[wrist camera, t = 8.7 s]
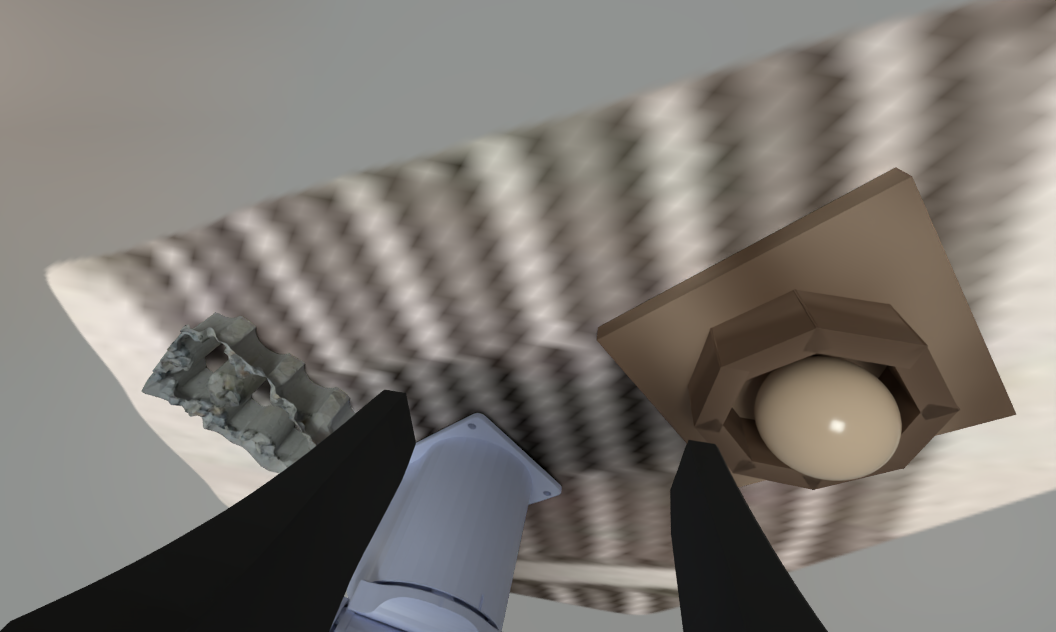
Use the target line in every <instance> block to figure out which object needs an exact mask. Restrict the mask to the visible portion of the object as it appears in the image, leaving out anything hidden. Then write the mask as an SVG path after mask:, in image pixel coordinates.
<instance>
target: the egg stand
mask: <svg viewBox="0 0 1056 632" xmlns="http://www.w3.org/2000/svg"><path fill="white" fill-rule="evenodd" d="M597 341H598V342H599V343H600V344H601V346H602V347H603V348H604V349H605V350H606V351H607V352H608V354H609V355H610V356H611V357H612V358H613V359H614V360H615V362H616V363H617V364H618V365H619V366H620V367H621V369H622V370H623V371H624V372H625V373H626V374H627V375H628V377H629V378H630V379H631V380H632V381H633V382H634V383H635V385H636V386H637V387H638V388H639V389H640V390H641V391H642V393H643V394H644V395H645V396H646V397H647V398H648V399H649V401H650V402H651V403H652V404H653V405H654V406H655V408H656V409H657V410H658V411H659V412H660V413H661V414H662V416H663V417H664V418H665V419H666V420H667V421H668V422H669V424H670V425H671V426H672V427H673V428H674V429H675V430H676V432H677V433H678V434H679V435H680V436H681V437H682V438H683V440H684V441H685V442H686V443H687V442H688V440H694V441H700V442H706V443H712V444H716V446H717V447H718V448H719V450H720V452H721V454H722V456H723V458H724V460H725V462H726V464H727V466H728V468H729V470H730V472H731V474H732V476H733V478H734V480H735V482H736V484H737V486H738V487H741V486H745V485H749V484H753V483H757V482H760V481H764V480H769V481H774V482H778V483H783V484H788V485H793V486H798V487H803V488H807V489H812V490H815V489H819V488H823V487H827V486H831V485H835V484H840V483H844V482H848V481H852V480H856V479H852V480H844V481H830V480H823V479H818V478H814V477H811V476H808V475H805V474H802V473H800V472H798V471H796V470H794V469H792V468H791V467H789V466H788V465H786V464H785V463H783V462H782V461H781V460H779V459H778V458H777V457H776V456H775V455H774V454H773V453H772V452H771V451H770V450H769V448H768V447H767V446H766V444H765V443H764V441H763V439H762V438H761V436H760V434H759V431H758V429H757V426H756V422H755V416H754V405H755V399H756V395H757V393H758V390H759V388H760V386H761V384H762V383H763V381H764V380H765V379H766V378H767V376H768V375H769V374H770V373H771V372H773V371H774V370H775V369H777V368H780V367H782V366H785V365H787V364H790V363H793V362H795V361H798V360H800V359H803V358H806V357H811V356H826V357H834V358H839V359H843V360H846V361H849V362H852V363H854V364H856V365H858V366H860V367H862V368H864V369H866V370H867V371H869V372H870V373H872V374H873V375H874V376H876V377H877V378H878V379H879V380H880V381H881V382H882V383H883V384H884V385H885V386H886V387H887V389H888V390H889V391H890V393H891V394H892V396H893V397H894V399H895V401H896V403H897V406H898V408H899V411H900V415H901V422H902V431H901V438H900V441H899V444H898V447H897V449H896V451H895V452H894V454H893V456H892V457H891V458H890V460H889V461H888V462H887V463H885V464H884V465H883V466H882V467H881V468H879V469H878V470H876V471H875V472H873V473H871V474H869V475H866V476H864V477H861V478H865V477H869V476H873V475H877V474H882V473H886V472H890V471H894V470H898V469H904V468H905V467H906V466H907V465H908V463H909V462H910V461H911V460H912V459H913V458H914V457H915V456H916V455H917V454H918V453H919V452H920V451H921V450H922V449H923V448H924V447H925V446H926V445H927V444H928V442H929V441H930V440H931V439H932V438H933V437H934V436H936V435H940V434H944V433H948V432H952V431H955V430H959V429H963V428H967V427H971V426H974V425H978V424H982V423H986V422H990V421H994V420H997V419H1001V418H1005V417H1009V416H1013V415H1016V412H1015V410H1014V408H1013V405H1012V403H1011V401H1010V399H1009V396H1008V394H1007V392H1006V390H1005V387H1004V385H1003V383H1002V380H1001V378H1000V376H999V374H998V371H997V369H996V367H995V364H994V362H993V360H992V358H991V355H990V353H989V351H988V348H987V346H986V344H985V342H984V339H983V337H982V335H981V333H980V330H979V328H978V326H977V323H976V321H975V319H974V317H973V314H972V312H971V310H970V307H969V305H968V303H967V301H966V298H965V296H964V294H963V292H962V289H961V287H960V285H959V282H958V280H957V278H956V276H955V273H954V271H953V269H952V266H951V264H950V262H949V260H948V257H947V255H946V253H945V250H944V248H943V246H942V244H941V241H940V239H939V237H938V235H937V232H936V230H935V228H934V225H933V223H932V221H931V219H930V216H929V214H928V212H927V209H926V207H925V205H924V203H923V200H922V198H921V196H920V194H919V191H918V189H917V187H916V184H915V182H914V180H913V178H912V176H910V175H909V174H907V173H905V172H903V171H902V170H900V169H898V168H894V169H892V170H890V171H888V172H887V173H885V174H883V175H881V176H879V177H877V178H875V179H874V180H872V181H870V182H868V183H866V184H864V185H862V186H861V187H859V188H857V189H855V190H853V191H851V192H849V193H847V194H846V195H844V196H842V197H840V198H838V199H836V200H834V201H833V202H831V203H829V204H827V205H825V206H823V207H821V208H820V209H818V210H816V211H814V212H812V213H810V214H808V215H807V216H805V217H803V218H801V219H799V220H797V221H795V222H793V223H792V224H790V225H788V226H786V227H784V228H782V229H780V230H779V231H777V232H775V233H773V234H771V235H769V236H767V237H766V238H764V239H762V240H760V241H758V242H756V243H754V244H752V245H751V246H749V247H747V248H745V249H743V250H741V251H739V252H738V253H736V254H734V255H732V256H730V257H728V258H726V259H725V260H723V261H721V262H719V263H717V264H715V265H713V266H712V267H710V268H708V269H706V270H704V271H702V272H700V273H698V274H697V275H695V276H693V277H691V278H689V279H687V280H685V281H684V282H682V283H680V284H678V285H676V286H674V287H672V288H671V289H669V290H667V291H665V292H663V293H661V294H659V295H657V296H656V297H654V298H652V299H650V300H648V301H646V302H644V303H643V304H641V305H639V306H637V307H635V308H633V309H631V310H630V311H628V312H626V313H624V314H622V315H620V316H618V317H616V318H615V319H613V320H611V321H609V322H607V323H605V324H603V325H602V326H600V327H598V334H597ZM861 478H857V479H861Z"/></svg>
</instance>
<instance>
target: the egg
mask: <svg viewBox="0 0 1056 632" xmlns="http://www.w3.org/2000/svg"><path fill="white" fill-rule="evenodd" d="M754 416H755V422H756V426H757V429H758V431H759V434H760V436H761V438H762V439H763V441H764V443H765V444H766V446H767V447H768V448H769V450H770V451H771V452H772V453H773V454H774V455H775V456H776V457H777V458H778V459H779V460H781V461H782V462H783V463H785V464H786V465H788V466H789V467H791V468H792V469H794V470H796V471H798V472H800V473H802V474H805V475H808V476H811V477H814V478H818V479H823V480H830V481H844V480H852V479H857V478H861V477H864V476H866V475H869V474H871V473H873V472H875V471H876V470H878V469H879V468H881V467H882V466H883V465H884V464H885V463H887V462H888V461H889V460H890V458H891V457H892V456H893V454H894V452H895V451H896V449H897V447H898V444H899V441H900V438H901V431H902V422H901V415H900V411H899V408H898V406H897V403H896V401H895V399H894V397H893V396H892V394H891V393H890V391H889V390H888V389H887V387H886V386H885V385H884V384H883V383H882V382H881V381H880V380H879V379H878V378H877V377H876V376H874V375H873V374H872V373H870V372H869V371H867V370H866V369H864V368H862V367H860V366H858V365H856V364H854V363H852V362H849V361H846V360H843V359H839V358H834V357H826V356H811V357H806V358H803V359H800V360H798V361H795V362H793V363H790V364H787V365H785V366H782V367H780V368H777V369H775V370H774V371H773V372H771V373H770V374H769V375H768V376H767V378H766V379H765V380H764V381H763V383H762V384H761V386H760V388H759V390H758V393H757V395H756V399H755V405H754Z"/></svg>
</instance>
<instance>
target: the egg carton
mask: <svg viewBox="0 0 1056 632" xmlns="http://www.w3.org/2000/svg"><path fill="white" fill-rule="evenodd" d="M180 332H181V334H180V335H179V336H178V338H177V339H176V340H175V341H174V342H173V343H172V344H171V345H170V347H169V348H168V349H167V350H168V351H167V352H166V354H165V355H164V356H163V357H162V359H161V360H160V362H159V363H158V365H157V366H156V367H155V369H154V370H153V374H152V375H151V376H150V377H149V379H148V380H147V382H146V384H145V385H144V387H143V389H142V392H143V393H145V394H148V395H152V396H155V397H159V398H162V399H164V400H167V401H169V403H170V404H171V405H178V406H182V407H183V408H184V409H185V412H187V413H189V416H191V417H192V416H197V415H198V416H200V417H202V419H203V427H204V429H207V430H211V431H215V432H218V433H219V434H221V435H223V436H224V437H225V438H227V439H228V440H229V441H230V442H232V443H234V444H237V445H239V446H242V447H243V448H244V449H245V450H247V451H248V452H249V453H250V454H251V456H252V457H253V458H254V459H255V460H256V461H257V462H258V463H259V465H260V466H261V467H263V468H265V469H267V470H269V471H272V472H277V473H281V472H282V471H284V470H285V469H286V468H288V467H289V466H290V465H292V464H293V463H294V462H296V461H297V460H298V459H300V458H301V457H302V456H304V455H305V454H306V453H308V452H309V451H310V450H312V449H313V448H314V447H315V446H317V445H318V444H319V443H320V442H321V441H323V440H324V439H325V438H326V437H328V436H329V435H330V434H331V433H333V432H334V431H335V430H336V429H338V428H339V427H340V426H341V425H342V424H344V423H345V422H346V421H347V420H348V419H350V418H351V417H352V416H353V415H354V414H356V413H355V412H354V411H353V410H352V409H351V407H350V405H349V399H350V397H349V396H348V395H347V394H346V393H345V392H343V391H342V390H340V389H339V388H337V387H335V388H324V387H321V386H319V385H317V384H315V383H314V382H312V381H311V380H310V379H309V378H308V376H307V375H306V373H305V370H304V365H305V363H304V362H303V361H301V360H300V359H298V358H296V357H294V356H293V355H291V354H290V353H288V354H277V353H274V352H272V351H270V350H268V349H267V348H265V347H264V346H263V345H262V344H261V343H260V342H259V340H258V338H257V336H256V327H255V326H254V325H253V324H252V323H251V322H249V321H248V320H247V319H245V318H243V317H242V316H239V317H237V318H229V317H225V316H223V315H221V314H219V313H216V312H215V313H214V314H213V315H212V316H210V317H209V318H208V319H206V320H205V321H204V322H202V323H201V324H199V325H198V326H196V327H195V328H193V329H190V326H189V325H185V326H184V327H183V328H182V330H181V331H180ZM221 343H223V344H224V345H225V347H226V349H225V351H224V353H226V354H227V355H228V356H229V360H228V361H227V362H226V363H225V364H223V365H222V366H221V367H220V368H219V369H218V370H216V371H215V372H214V373H213V372H212V371H210V370H209V369H207V368H206V361H205V358H204V357H205V356H206V355H208V354H209V353H210V352H211V351H213V350H214V349H215V348H216V347H218V346H219V345H220V344H221ZM267 379H268V382H269V384H270V385H271V390H270V401H271V404H272V405H273V406H265V407H263V406H261V405H260V404H258V403H257V402H256V401H254V400H253V399H252V398H251V396H252V394H253V393H254V392H255V391H256V390H257V389H258V388H259V387H260V386H261V385H262V384H263V383H264V382H265V381H266V380H267ZM277 406H280V407H282V408H283V409H282V408H279V407H277ZM284 409H285V410H286V411H285V410H284ZM295 424H296V425H298V426H299V428H300V429H301V432H302V433H301V432H299V431H298V430H297V429H295V428H294V426H295Z"/></svg>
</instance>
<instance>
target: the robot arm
mask: <svg viewBox="0 0 1056 632" xmlns="http://www.w3.org/2000/svg"><path fill="white" fill-rule="evenodd" d="M561 490H562V487H561V485H560V484H559V483H558V482H557V481H556V480H554V479H553V478H552V477H551V476H550V475H549V474H548V473H547V472H546V471H545V470H544V469H543V468H541V467H540V466H539V465H538V464H537V463H536V462H535V461H534V460H533V459H532V458H531V457H529V456H528V455H527V454H526V453H525V452H524V451H523V450H522V449H521V448H520V447H519V446H517V445H516V444H515V443H514V442H513V441H512V440H511V439H510V438H509V437H508V436H507V435H505V434H504V433H503V432H502V431H501V430H500V429H499V428H498V427H497V426H496V425H495V424H494V423H492V422H491V421H490V420H489V419H488V418H487V417H486V416H485V415H483V414H481V413H475V414H472V415H470V416H468V417H466V418H464V419H462V420H460V421H458V422H456V423H454V424H452V425H450V426H448V427H446V428H444V429H442V430H440V431H438V432H436V433H434V434H432V435H430V436H428V437H427V438H425V439H423V440H421V441H419V442H417V443H416V441H415V436H414V431H413V426H412V421H411V416H410V411H409V406H408V401H407V396H406V393H402V392H396V391H390V390H383V391H382V392H381V393H380V394H378V395H377V396H376V397H375V398H374V399H372V400H371V401H370V402H369V403H368V404H366V405H365V406H364V407H363V408H362V409H360V410H359V411H358V412H357V413H356V414H354V415H353V416H352V417H351V418H350V419H348V420H347V421H346V422H345V423H344V424H342V425H341V426H340V427H339V428H338V429H336V430H335V431H334V432H333V433H331V434H330V435H329V436H328V437H326V438H325V439H324V440H323V441H321V442H320V443H319V444H318V445H317V446H315V447H314V448H313V449H312V450H310V451H309V452H308V453H306V454H305V455H304V456H302V457H301V458H300V459H298V460H297V461H296V462H294V463H293V464H292V465H290V466H289V467H288V468H286V469H285V470H284V471H282V472H281V473H280V474H278V475H277V476H276V477H274V478H273V479H271V480H270V481H269V482H267V483H266V484H264V485H263V486H261V487H260V488H259V489H257V490H256V491H254V492H253V493H251V494H250V495H248V496H247V497H245V498H244V499H242V500H241V501H239V502H237V503H236V504H234V505H233V506H231V507H230V508H228V509H227V510H226V511H224V512H222V513H220V514H219V515H217V516H215V517H214V518H212V519H210V520H209V521H207V522H205V523H204V524H202V525H200V526H198V527H197V528H195V529H193V530H191V531H190V532H188V533H186V534H185V535H183V536H181V537H179V538H178V539H176V540H174V541H173V542H171V543H169V544H167V545H166V546H164V547H162V548H160V549H158V550H156V551H154V552H153V553H151V554H149V555H147V556H145V557H143V558H141V559H139V560H138V561H136V562H134V563H132V564H130V565H128V566H126V567H124V568H122V569H120V570H118V571H116V572H114V573H112V574H110V575H108V576H106V577H105V578H102V579H100V580H98V581H96V582H94V583H92V584H90V585H88V586H86V587H84V588H82V589H80V590H78V591H75V592H73V593H71V594H69V595H67V596H64V597H62V598H60V599H58V600H56V601H54V602H52V603H49V604H47V605H45V606H43V607H41V608H38V609H36V610H34V611H32V612H30V613H28V614H25V615H23V616H21V617H19V618H16V619H14V620H12V621H10V622H9V623H8V624H7V625H6V626H5V627H4V628H3V629H2V630H1V631H0V632H502V631H501V630H502V626H503V621H504V617H505V612H506V607H507V602H508V598H509V593H510V588H511V584H512V579H513V574H514V570H515V565H516V560H517V556H518V551H519V546H520V542H521V537H522V532H523V528H524V523H525V518H526V513H527V509H528V505H529V504H533V503H536V502H539V501H542V500H545V499H548V498H551V497H554V496H558V495H560V494H561ZM670 499H671V537H672V545H673V553H674V562H675V570H676V578H677V585H678V593H679V601H680V609H681V616H682V625H683V632H828V631H827V630H826V629H825V627H824V626H823V624H822V623H821V621H820V620H819V618H818V617H817V616H816V614H815V613H814V611H813V610H812V608H811V607H810V606H809V604H808V602H807V601H806V600H805V598H804V597H803V595H802V594H801V592H800V591H799V589H798V587H797V586H796V584H795V583H794V581H793V580H792V578H791V577H790V575H789V573H788V572H787V570H786V569H785V567H784V566H783V564H782V562H781V561H780V559H779V558H778V556H777V554H776V553H775V551H774V549H773V548H772V546H771V545H770V543H769V541H768V539H767V538H766V536H765V534H764V533H763V531H762V529H761V527H760V526H759V524H758V522H757V521H756V519H755V517H754V515H753V514H752V512H751V510H750V508H749V506H748V505H747V503H746V501H745V499H744V497H743V495H742V493H741V492H740V490H739V488H738V486H737V484H736V482H735V480H734V478H733V476H732V474H731V472H730V470H729V468H728V466H727V464H726V462H725V460H724V458H723V456H722V454H721V452H720V450H719V448H718V447H717V446H716V444H712V443H706V442H700V441H694V440H688V442H687V445H686V448H685V451H684V453H683V456H682V459H681V462H680V465H679V467H678V470H677V473H676V476H675V479H674V482H673V484H672V487H671V490H670ZM346 590H347V594H348V598H346V597H344V595H345V592H346ZM349 602H350V603H349Z"/></svg>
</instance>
